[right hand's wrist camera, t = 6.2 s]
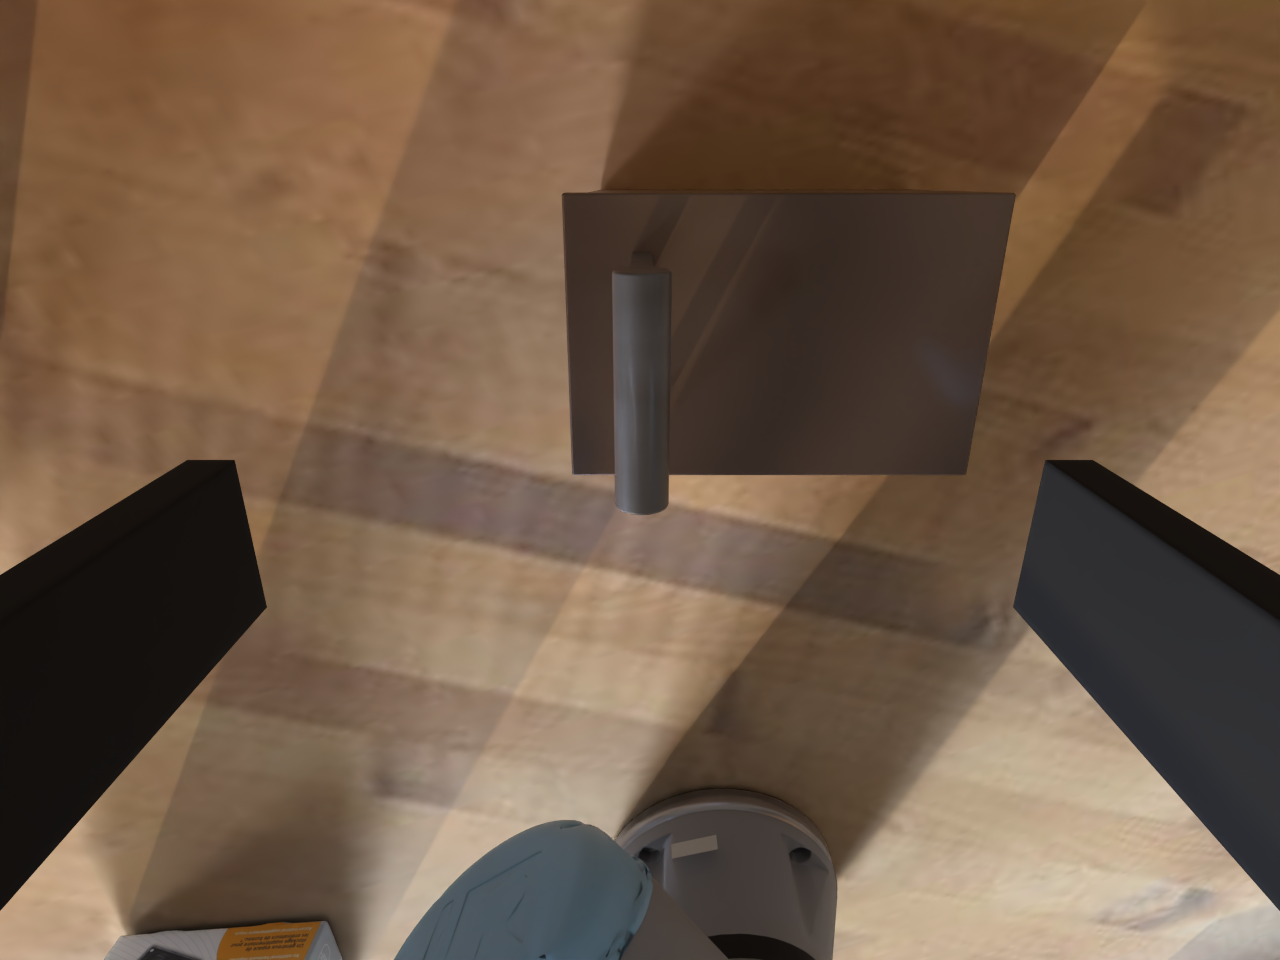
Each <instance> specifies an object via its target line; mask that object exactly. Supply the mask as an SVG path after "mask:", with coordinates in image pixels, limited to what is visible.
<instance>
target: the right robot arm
mask: <svg viewBox="0 0 1280 960" xmlns="http://www.w3.org/2000/svg"><path fill="white" fill-rule="evenodd" d="M266 607H267V606H266V601H265V597H264V592H263V588H262V583H261V579H260V574H259V569H258V565H257V560H256V556H255V551H254V547H253V542H252V537H251V533H250V528H249V524H248V519H247V515H246V510H245V506H244V501H243V496H242V492H241V487H240V483H239V478H238V474H237V469H236V464H235V460H187V461H185V462H183V463H182V464H180V465H179V466H177V467H175V468H174V469H172V470H170V471H169V472H167V473H165V474H164V475H162V476H161V477H159V478H157V479H156V480H154V481H152V482H151V483H149V484H148V485H146V486H144V487H143V488H141V489H139V490H138V491H136V492H135V493H133V494H131V495H130V496H128V497H126V498H125V499H123V500H122V501H120V502H118V503H117V504H115V505H113V506H112V507H110V508H109V509H107V510H105V511H104V512H102V513H100V514H99V515H97V516H96V517H94V518H92V519H91V520H89V521H87V522H86V523H84V524H83V525H81V526H79V527H78V528H76V529H74V530H73V531H71V532H69V533H68V534H66V535H65V536H63V537H61V538H60V539H58V540H56V541H55V542H53V543H52V544H50V545H48V546H47V547H45V548H43V549H42V550H40V551H39V552H37V553H35V554H34V555H32V556H30V557H29V558H27V559H26V560H24V561H22V562H21V563H19V564H17V565H16V566H14V567H13V568H11V569H9V570H8V571H6V572H4V573H3V574H1V575H0V910H1V909H2V908H3V907H4V906H5V905H6V904H7V903H8V901H9V900H10V899H11V898H12V897H13V896H14V895H15V893H16V892H17V891H18V890H19V889H20V888H21V887H22V885H23V884H24V883H25V882H26V881H27V880H28V879H29V877H30V876H31V875H32V874H33V873H34V872H35V871H36V869H37V868H38V867H39V866H40V865H41V864H42V863H43V861H44V860H45V859H46V858H47V857H48V856H49V855H50V854H51V852H52V851H53V850H54V849H55V848H56V847H57V846H58V844H59V843H60V842H61V841H62V840H63V839H64V838H65V836H66V835H67V834H68V833H69V832H70V831H71V830H72V828H73V827H74V826H75V825H76V824H77V823H78V822H79V820H80V819H81V818H82V817H83V816H84V815H85V814H86V812H87V811H88V810H89V809H90V808H91V807H92V806H93V805H94V803H95V802H96V801H97V800H98V799H99V798H100V797H101V795H102V794H103V793H104V792H105V791H106V790H107V789H108V787H109V786H110V785H111V784H112V783H113V782H114V781H115V779H116V778H117V777H118V776H119V775H120V774H121V773H122V771H123V770H124V769H125V768H126V767H127V766H128V765H129V764H130V762H131V761H132V760H133V759H134V758H135V757H136V756H137V754H138V753H139V752H140V751H141V750H142V749H143V748H144V746H145V745H146V744H147V743H148V742H149V741H150V740H151V738H152V737H153V736H154V735H155V734H156V733H157V732H158V730H159V729H160V728H161V727H162V726H163V725H164V724H165V722H166V721H167V720H168V719H169V718H170V717H171V716H172V715H173V713H174V712H175V711H176V710H177V709H178V708H179V707H180V705H181V704H182V703H183V702H184V701H185V700H186V699H187V697H188V696H189V695H190V694H191V693H192V692H193V691H194V689H195V688H196V687H197V686H198V685H199V684H200V683H201V681H202V680H203V679H204V678H205V677H206V676H207V675H208V674H209V672H210V671H211V670H212V669H213V668H214V667H215V666H216V664H217V663H218V662H219V661H220V660H221V659H222V658H223V656H224V655H225V654H226V653H227V652H228V651H229V650H230V648H231V647H232V646H233V645H234V644H235V643H236V642H237V640H238V639H239V638H240V637H241V636H242V635H243V634H244V632H245V631H246V630H247V629H248V628H249V627H250V626H251V625H252V623H253V622H254V621H255V620H256V619H257V618H258V617H259V615H260V614H261V613H262V612H263V611H264V610H265V609H266ZM1013 607H1014V609H1015V610H1016V611H1017V612H1018V613H1019V614H1020V615H1021V617H1022V618H1023V619H1024V620H1025V621H1026V622H1027V623H1028V625H1029V626H1030V627H1031V628H1032V629H1033V630H1034V631H1035V632H1036V634H1037V635H1038V636H1039V637H1040V638H1041V639H1042V640H1043V642H1044V643H1045V644H1046V645H1047V646H1048V647H1049V648H1050V650H1051V651H1052V652H1053V653H1054V654H1055V655H1056V656H1057V658H1058V659H1059V660H1060V661H1061V662H1062V663H1063V664H1064V666H1065V667H1066V668H1067V669H1068V670H1069V671H1070V672H1071V674H1072V675H1073V676H1074V677H1075V678H1076V679H1077V680H1078V681H1079V683H1080V684H1081V685H1082V686H1083V687H1084V688H1085V689H1086V691H1087V692H1088V693H1089V694H1090V695H1091V696H1092V697H1093V699H1094V700H1095V701H1096V702H1097V703H1098V704H1099V705H1100V707H1101V708H1102V709H1103V710H1104V711H1105V712H1106V713H1107V715H1108V716H1109V717H1110V718H1111V719H1112V720H1113V721H1114V722H1115V724H1116V725H1117V726H1118V727H1119V728H1120V729H1121V730H1122V732H1123V733H1124V734H1125V735H1126V736H1127V737H1128V738H1129V740H1130V741H1131V742H1132V743H1133V744H1134V745H1135V746H1136V748H1137V749H1138V750H1139V751H1140V752H1141V753H1142V754H1143V756H1144V757H1145V758H1146V759H1147V760H1148V761H1149V762H1150V764H1151V765H1152V766H1153V767H1154V768H1155V769H1156V770H1157V771H1158V773H1159V774H1160V775H1161V776H1162V777H1163V778H1164V779H1165V781H1166V782H1167V783H1168V784H1169V785H1170V786H1171V787H1172V789H1173V790H1174V791H1175V792H1176V793H1177V794H1178V795H1179V797H1180V798H1181V799H1182V800H1183V801H1184V802H1185V803H1186V805H1187V806H1188V807H1189V808H1190V809H1191V810H1192V811H1193V812H1194V814H1195V815H1196V816H1197V817H1198V818H1199V819H1200V820H1201V822H1202V823H1203V824H1204V825H1205V826H1206V827H1207V828H1208V830H1209V831H1210V832H1211V833H1212V834H1213V835H1214V836H1215V838H1216V839H1217V840H1218V841H1219V842H1220V843H1221V844H1222V846H1223V847H1224V848H1225V849H1226V850H1227V851H1228V852H1229V854H1230V855H1231V856H1232V857H1233V858H1234V859H1235V860H1236V861H1237V863H1238V864H1239V865H1240V866H1241V867H1242V868H1243V869H1244V871H1245V872H1246V873H1247V874H1248V875H1249V876H1250V877H1251V879H1252V880H1253V881H1254V882H1255V883H1256V884H1257V885H1258V887H1259V888H1260V889H1261V890H1262V891H1263V892H1264V893H1265V895H1266V896H1267V897H1268V898H1269V899H1270V900H1271V901H1272V903H1273V904H1274V905H1275V906H1276V907H1277V908H1278V909H1279V910H1280V575H1279V574H1277V573H1276V572H1274V571H1272V570H1271V569H1269V568H1267V567H1266V566H1264V565H1263V564H1261V563H1259V562H1258V561H1256V560H1254V559H1253V558H1251V557H1250V556H1248V555H1246V554H1245V553H1243V552H1241V551H1240V550H1238V549H1237V548H1235V547H1233V546H1232V545H1230V544H1228V543H1227V542H1225V541H1224V540H1222V539H1220V538H1219V537H1217V536H1215V535H1214V534H1212V533H1211V532H1209V531H1207V530H1206V529H1204V528H1202V527H1201V526H1199V525H1197V524H1196V523H1194V522H1193V521H1191V520H1189V519H1188V518H1186V517H1184V516H1183V515H1181V514H1180V513H1178V512H1176V511H1175V510H1173V509H1171V508H1170V507H1168V506H1167V505H1165V504H1163V503H1162V502H1160V501H1158V500H1157V499H1155V498H1154V497H1152V496H1150V495H1149V494H1147V493H1145V492H1144V491H1142V490H1141V489H1139V488H1137V487H1136V486H1134V485H1132V484H1131V483H1129V482H1128V481H1126V480H1124V479H1123V478H1121V477H1119V476H1118V475H1116V474H1115V473H1113V472H1111V471H1110V470H1108V469H1106V468H1105V467H1103V466H1101V465H1100V464H1098V463H1097V462H1095V461H1093V460H1045V464H1044V469H1043V474H1042V478H1041V483H1040V487H1039V492H1038V496H1037V501H1036V506H1035V510H1034V515H1033V519H1032V524H1031V528H1030V533H1029V537H1028V542H1027V547H1026V551H1025V556H1024V560H1023V565H1022V569H1021V574H1020V579H1019V583H1018V588H1017V592H1016V597H1015V601H1014V606H1013Z"/></svg>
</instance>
